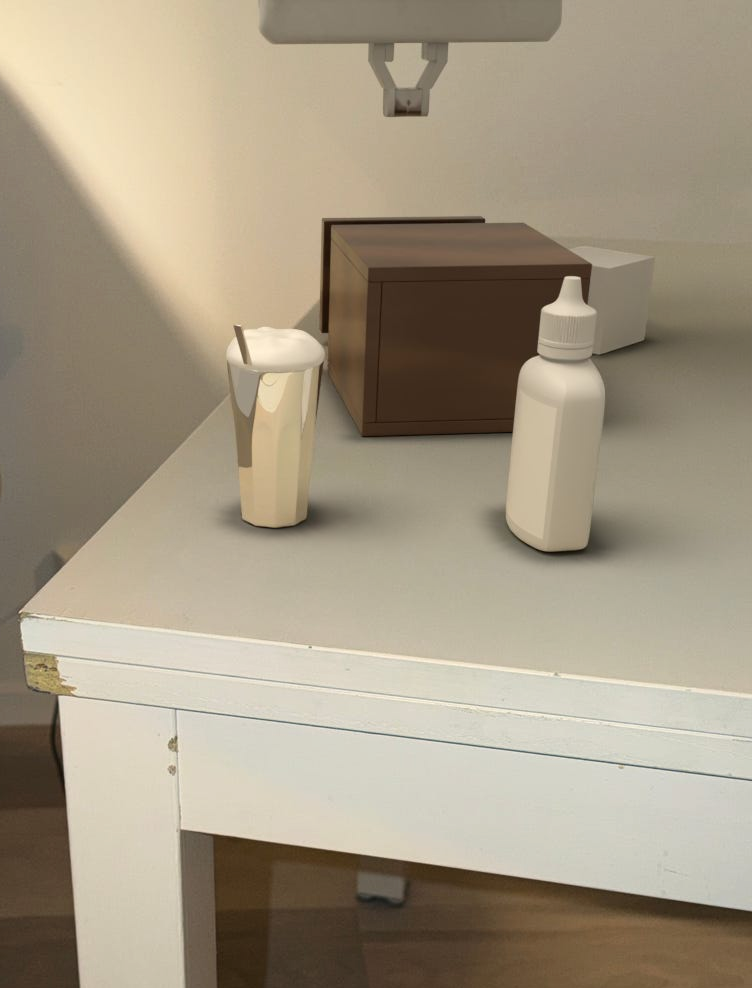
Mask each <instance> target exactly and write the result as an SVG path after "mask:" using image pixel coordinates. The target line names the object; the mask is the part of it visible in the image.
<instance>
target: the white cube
mask: <svg viewBox="0 0 752 988" xmlns="http://www.w3.org/2000/svg"><path fill="white" fill-rule="evenodd" d="M567 249H568V250H570V251H572V252H573V253H575V254H577V255H578V256H580V257H582V258H583V259H585V260H586V261H588V262H590V263H591V264H592V271H591V278H590V288H589V297H588V306H590V307H592V308H594V309H595V310H596V312H597V317H596V326H595V334H594V343H593V351H592V354H594V355H598V356H600V355H603V354H606V353H609V352H612V351H615V350H618V349H621V348H624V347H628V346H631V345H633V344H637V343H640V342H643V341H645V336H646V327H647V321H648V314H649V307H650V306H649V305H650V297H651V293H652V292H651V290H652V282H653V276H654V269H655V263H656V262H655V261H656V256H652V255H644V254H639V253H632V252H625V251H619V250H613V249H608V248H607V249H606V248H601V247H595V246H588V245H581V246H576V247H571V248H567Z"/></svg>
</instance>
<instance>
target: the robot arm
mask: <svg viewBox="0 0 752 988" xmlns="http://www.w3.org/2000/svg"><path fill="white" fill-rule="evenodd" d="M257 3H258V4H257V5H258V6H257V27H258V32H259V33H260V35H261V36H262V37H263V38H264V40H265V41H267V43H268V44H271V45H348V44H349V45H352V44H353V45H358V44H359V45H361V44H363V45H365V44H368V45H367V47H368V51H367V52H368V53H367V61H368V64H369V66H370V67H371V69H372V71H373V74H374V76H375V77H376V79H377V82H378V83H379V85H380V87H381V88H382V89H383V90H382V115H383V117H385V118H405V117H406V118H407V117H408V118H409V117H412V118H414V117H417V118H420V117H423V118H424V117H425V118H426V117H428V116H429V113H430V112H429V111H430V95H431V94H430V93H431V90H432V89H433V87H434V86H435V84H436V82H437V81H438V79H439V77H440V76H441V74H442V72H443V70H444V68H445V67H446V65H447V63H448V59H449V43H450V44H453V43H455V44H456V43H458V44H459V43H460V44H461V43H464V44H465V43H540V42H541V43H544V42H545V43H546V42H549V41H550V40H551V39H552V38H553V37H554V35H555V34H556V33H557V32H558V31H559V29H560V27H561V25H562V19H563V16H562V15H563V0H258V1H257ZM395 44H421V50H420V51H421V52H420V53H421V54H420V55H421V56H420V58H421V60H424V61H426V62H428V63H427V64H426V66H425V68H424V70H423V72H422V73H421V75H420V77H419V78H418V81H417V83H416V84H415V86H413V87H412V86H411V87H410V86H409V87H397V85H396V83H395V81H394V78H393V77H392V75H391V72H390V70H389V68H388V66H387V63H392V62H393V61H394V60H395V59H394V58H395Z"/></svg>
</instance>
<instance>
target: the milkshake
mask: <svg viewBox="0 0 752 988" xmlns="http://www.w3.org/2000/svg"><path fill="white" fill-rule="evenodd" d="M233 329H234V333H235V336H234V338H233V339H232V340H231V342H230V343H229V344H228V346H227V349H226V355H225V356H226V367H227V376H228V384H229V392H230V394H229V395H230V401H231V410H232V416H233V422H234V432H235V442H236V443H235V444H236V457H237V468H238V469H237V470H238V482H239V495H240V507H241V517H242V520H243V521H245V522H247V523H250V524H252V525H254V526H257V527H264V528H274V529H278V528H284V527H291V526H292V527H293V526H296V525H298V524H299V523H301V522H303V521H305V520H306V519H307V515H308V505H309V498H310V497H309V495H310V486H311V475H312V474H311V473H312V464H313V463H312V462H313V454H314V453H313V452H314V443H315V433H316V423H317V417H318V409H319V401H320V394H321V387H322V379H323V371H324V370H323V369H324V362H325V361H324V360H325V357H326V354H325V349H324V348H323V346H322V344H320V342H319V341H318V340H317V339H316V338H314V336H312V335H311V334H310V333H308V332H306V331H304V330H301V329H296V328H273V327H271V326H261V327H258V328H246V329H243V326H242V325H240V324H235V323H234V324H233Z"/></svg>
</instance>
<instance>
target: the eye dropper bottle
mask: <svg viewBox="0 0 752 988" xmlns="http://www.w3.org/2000/svg"><path fill="white" fill-rule="evenodd" d="M596 317H597V312H596V310H595V309H594V308H592V307H590V306H588V305H586V304H585V303H584V301H583V299H582V288H581V278H580V277H575V276H567V277H565V278H564V281H563V284H562V288H561V291H560V294H559V297H558V299H557V300H556V301H555V302H554V303H552V304H549V305H547V306H545V307H543V308H542V310H541V318H540V328H539V339H538V349H537V352H538V353H539V354H540V355H539V356H536V357H533V358H531V359H529V360H528V361H527V362H526V363H525V364H524V365H523V366H522V368H521V370H520V373H519V379H518V386H517V396H516V405H515V416H514V426H513V432H512V439H511V449H510V460H509V470H508V480H507V481H508V482H507V492H506V504H505V521H506V523H507V527H508V528H509V530H510V531H511V532H512V533H513V535H514V536H516V538H518V539H519V540H521V541H522V542H524V543H525V544H527V545H529V546H530V547H532V548H534V549H537V550H539V551H543V552H550V553H551V552H567V551H568V552H569V551H579V550H583V549H585V548H586V547H587V546H588V543H589V540H590V532H591V524H592V518H593V517H592V515H593V508H594V501H595V493H596V492H595V491H596V485H597V476H598V467H599V460H600V452H601V444H602V435H603V426H604V417H605V406H606V388H605V383H604V379H603V378H602V376H601V373H600V371H599V370H598V368H597V367H596V365H595V364H594V363H593V361H592V360H591V358H590V357H592V355H593V353H592V351H593V343H594V334H595V326H596Z"/></svg>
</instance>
